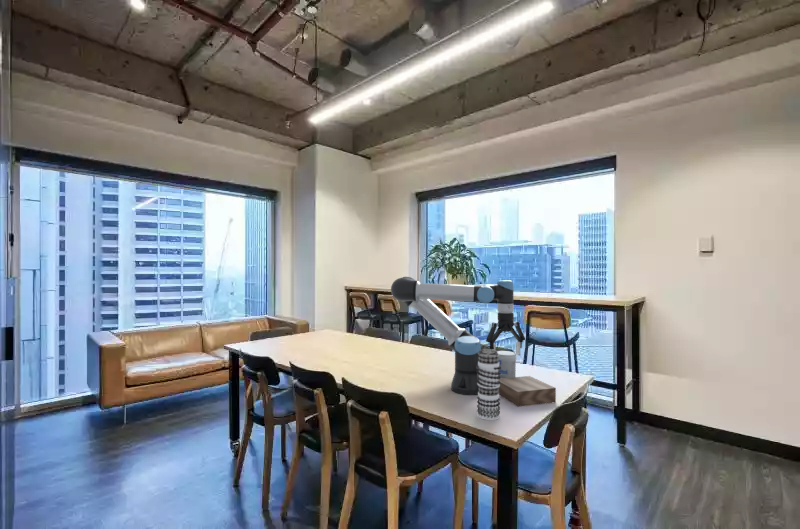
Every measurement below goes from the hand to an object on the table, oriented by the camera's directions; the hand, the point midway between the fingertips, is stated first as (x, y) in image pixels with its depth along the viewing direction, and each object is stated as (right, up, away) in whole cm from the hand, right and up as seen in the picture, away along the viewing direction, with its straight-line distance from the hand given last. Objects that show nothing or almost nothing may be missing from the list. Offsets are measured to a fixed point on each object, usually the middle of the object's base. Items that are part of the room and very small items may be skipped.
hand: (505, 355), depth 186 cm
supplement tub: (0, -13, 0) cm, 13 cm away
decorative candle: (-18, -13, -40) cm, 46 cm away
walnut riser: (+2, -13, -20) cm, 24 cm away
